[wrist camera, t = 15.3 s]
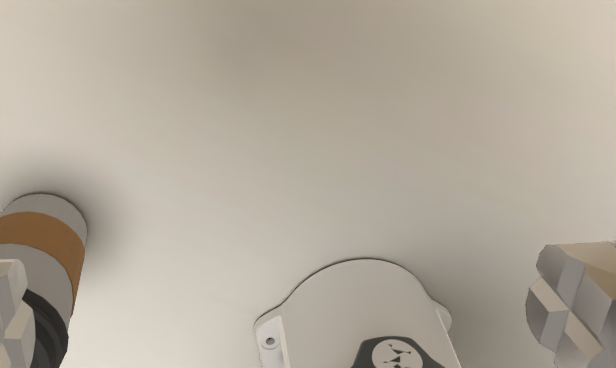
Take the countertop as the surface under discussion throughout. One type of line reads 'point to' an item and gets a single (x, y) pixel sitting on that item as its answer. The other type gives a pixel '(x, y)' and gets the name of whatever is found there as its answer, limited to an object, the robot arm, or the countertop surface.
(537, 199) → the countertop surface
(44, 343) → the coffee cup
